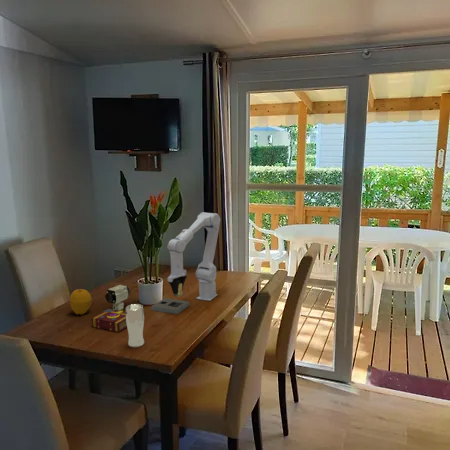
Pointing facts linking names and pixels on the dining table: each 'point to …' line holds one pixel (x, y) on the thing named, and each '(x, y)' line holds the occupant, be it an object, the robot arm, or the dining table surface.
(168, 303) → the grey plate with cutouts
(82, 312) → the apple
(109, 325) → the decorative book
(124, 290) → the white security camera
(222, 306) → the dining table surface
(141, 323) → the beer glass
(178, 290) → the brass fitting
